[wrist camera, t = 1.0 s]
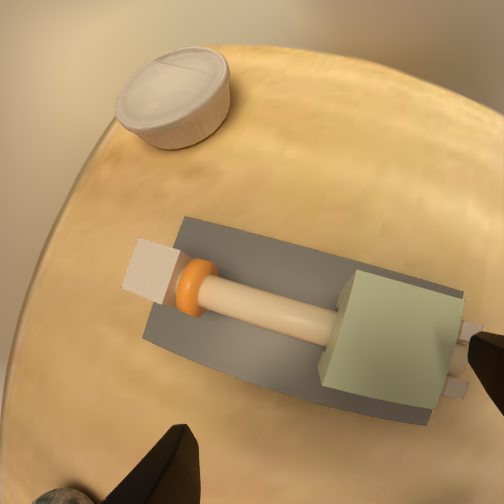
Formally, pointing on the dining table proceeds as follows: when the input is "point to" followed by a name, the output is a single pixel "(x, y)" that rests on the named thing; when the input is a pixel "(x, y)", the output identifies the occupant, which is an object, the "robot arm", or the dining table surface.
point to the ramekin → (176, 98)
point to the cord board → (262, 342)
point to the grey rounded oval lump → (63, 497)
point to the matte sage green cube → (391, 341)
